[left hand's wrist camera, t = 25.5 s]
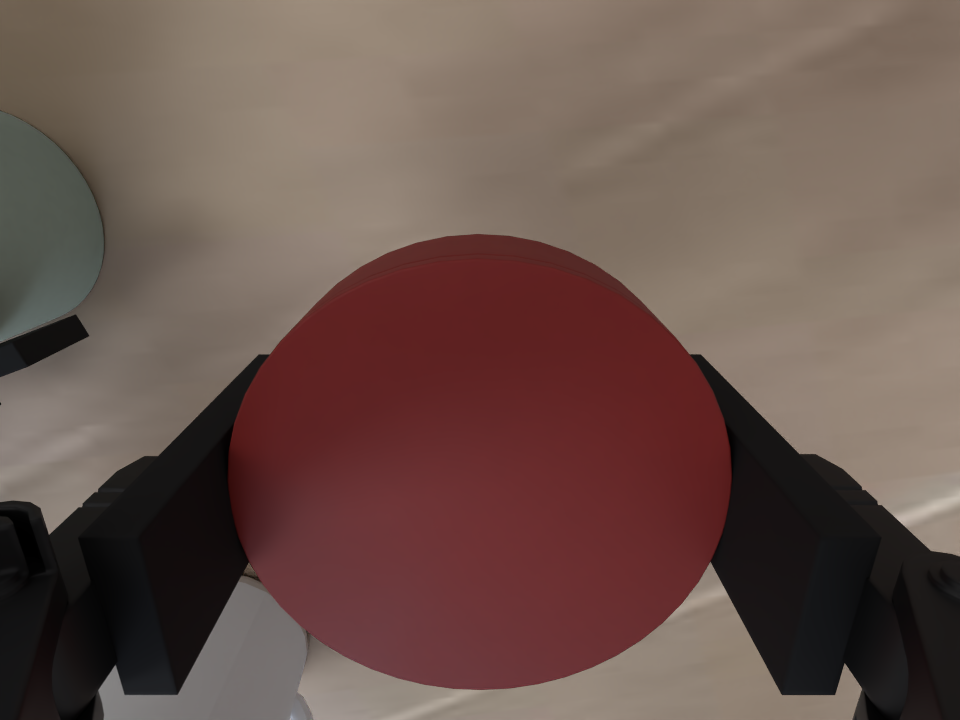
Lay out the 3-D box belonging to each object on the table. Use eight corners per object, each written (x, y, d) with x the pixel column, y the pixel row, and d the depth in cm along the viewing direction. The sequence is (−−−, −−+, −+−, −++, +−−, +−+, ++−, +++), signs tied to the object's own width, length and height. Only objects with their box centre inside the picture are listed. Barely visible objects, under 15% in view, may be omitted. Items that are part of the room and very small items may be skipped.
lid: (227, 537, 13) (179, 615, 11) (342, 157, 10) (307, 164, 8) (577, 647, 14) (594, 736, 12) (769, 334, 11) (836, 380, 9)
